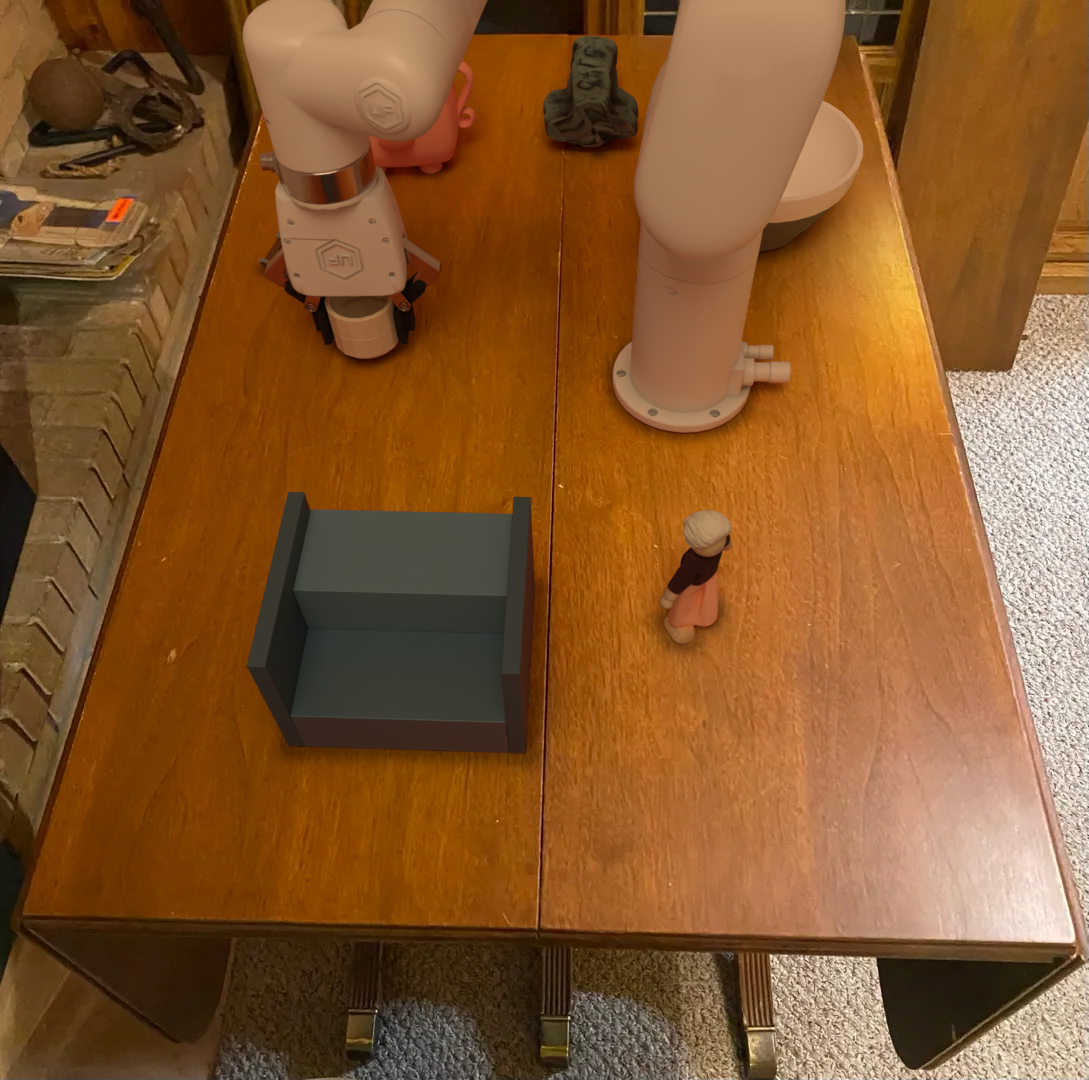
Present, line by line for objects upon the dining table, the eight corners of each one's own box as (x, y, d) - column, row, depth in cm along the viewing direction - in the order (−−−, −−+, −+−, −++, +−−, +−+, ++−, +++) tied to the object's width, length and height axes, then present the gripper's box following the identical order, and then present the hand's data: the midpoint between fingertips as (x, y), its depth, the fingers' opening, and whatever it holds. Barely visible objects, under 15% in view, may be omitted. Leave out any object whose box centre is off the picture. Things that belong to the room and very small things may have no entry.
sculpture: (670, 117, 112) (626, 68, 123) (639, 60, 107) (597, 14, 117) (578, 184, 115) (543, 130, 125) (545, 132, 110) (511, 80, 120)
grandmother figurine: (691, 663, 77) (711, 569, 67) (647, 640, 78) (659, 544, 68) (736, 590, 81) (761, 490, 70) (693, 569, 82) (711, 468, 72)
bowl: (659, 161, 114) (666, 80, 106) (837, 170, 113) (857, 88, 105) (650, 276, 103) (657, 195, 95) (847, 287, 101) (871, 206, 94)
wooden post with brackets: (321, 218, 108) (304, 194, 103) (291, 285, 106) (271, 264, 102) (307, 214, 108) (289, 190, 104) (276, 280, 107) (256, 259, 103)
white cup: (406, 315, 98) (398, 274, 94) (398, 362, 94) (389, 321, 90) (341, 316, 98) (330, 274, 94) (331, 362, 95) (319, 321, 91)
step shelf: (535, 589, 81) (530, 496, 71) (526, 753, 73) (519, 674, 63) (320, 584, 82) (287, 491, 72) (288, 746, 74) (246, 666, 64)
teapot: (398, 211, 110) (382, 102, 99) (306, 148, 117) (281, 40, 106) (500, 153, 116) (494, 44, 105) (407, 96, 123) (392, -12, 112)
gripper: (210, 196, 80) (270, 363, 94) (430, 193, 79) (456, 362, 93) (231, 140, 84) (285, 308, 99) (439, 137, 83) (463, 307, 98)
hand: (368, 333), depth 96 cm, fingers closed on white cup, 6 cm apart
